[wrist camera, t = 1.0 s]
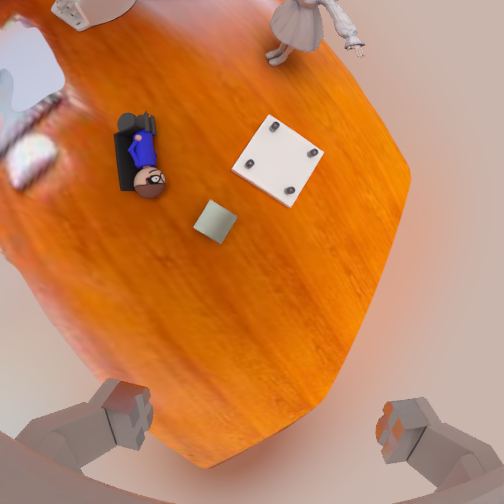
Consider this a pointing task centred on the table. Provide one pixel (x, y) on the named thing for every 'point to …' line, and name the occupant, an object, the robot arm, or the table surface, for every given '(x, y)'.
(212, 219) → the sage block
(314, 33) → the figurine
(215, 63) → the table surface
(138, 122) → the character figurine
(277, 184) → the display base
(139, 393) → the robot arm
